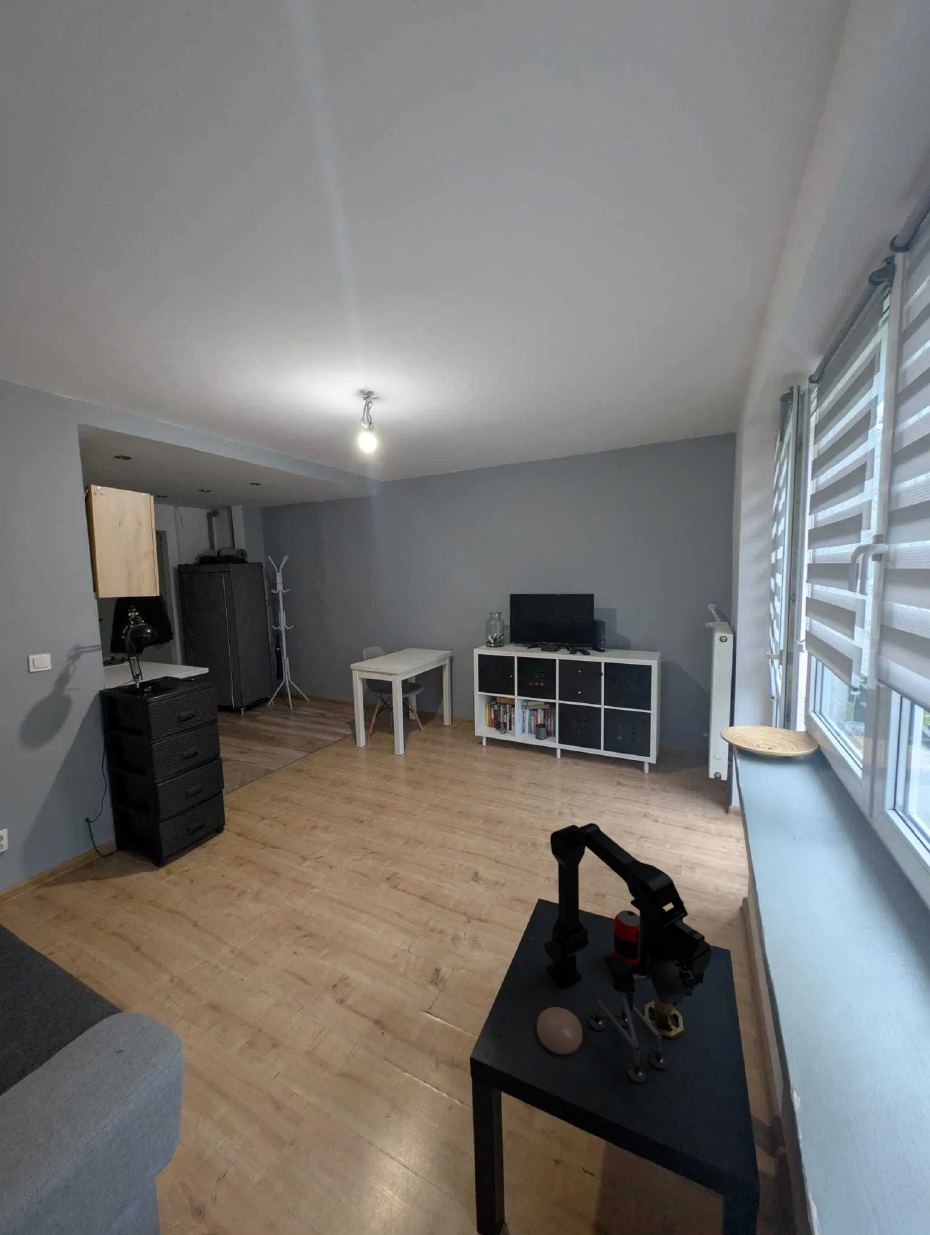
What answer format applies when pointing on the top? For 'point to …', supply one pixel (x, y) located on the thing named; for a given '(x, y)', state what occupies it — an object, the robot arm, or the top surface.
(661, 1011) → the octagonal handwheel knob
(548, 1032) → the coaster
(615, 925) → the soda can
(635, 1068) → the zigzag metal pull handle
